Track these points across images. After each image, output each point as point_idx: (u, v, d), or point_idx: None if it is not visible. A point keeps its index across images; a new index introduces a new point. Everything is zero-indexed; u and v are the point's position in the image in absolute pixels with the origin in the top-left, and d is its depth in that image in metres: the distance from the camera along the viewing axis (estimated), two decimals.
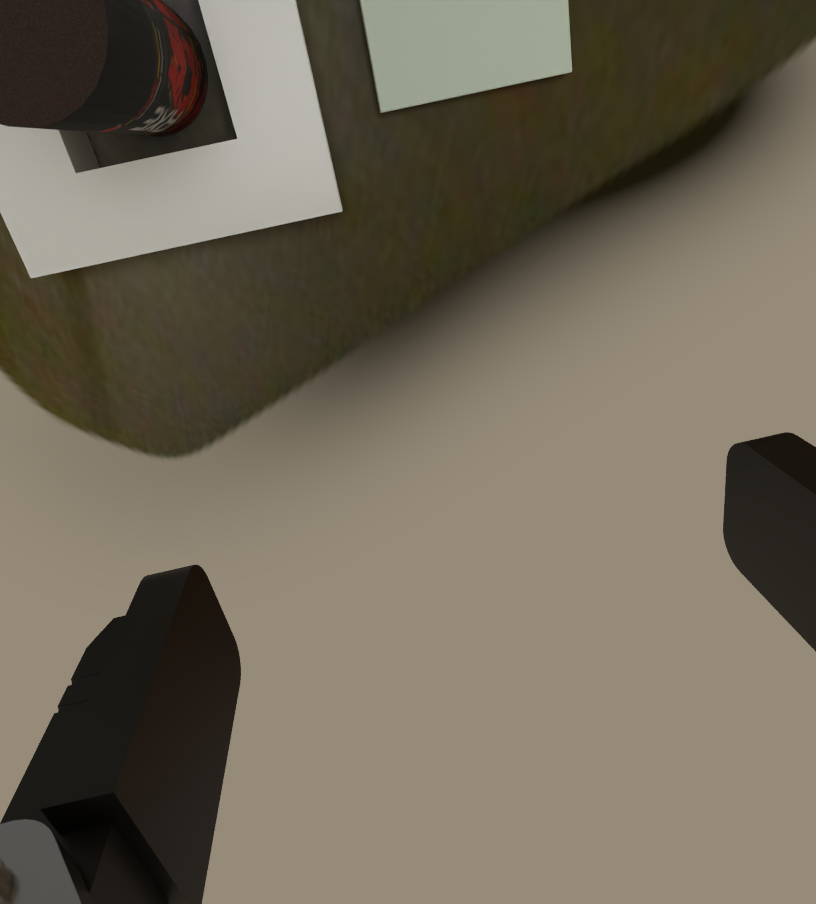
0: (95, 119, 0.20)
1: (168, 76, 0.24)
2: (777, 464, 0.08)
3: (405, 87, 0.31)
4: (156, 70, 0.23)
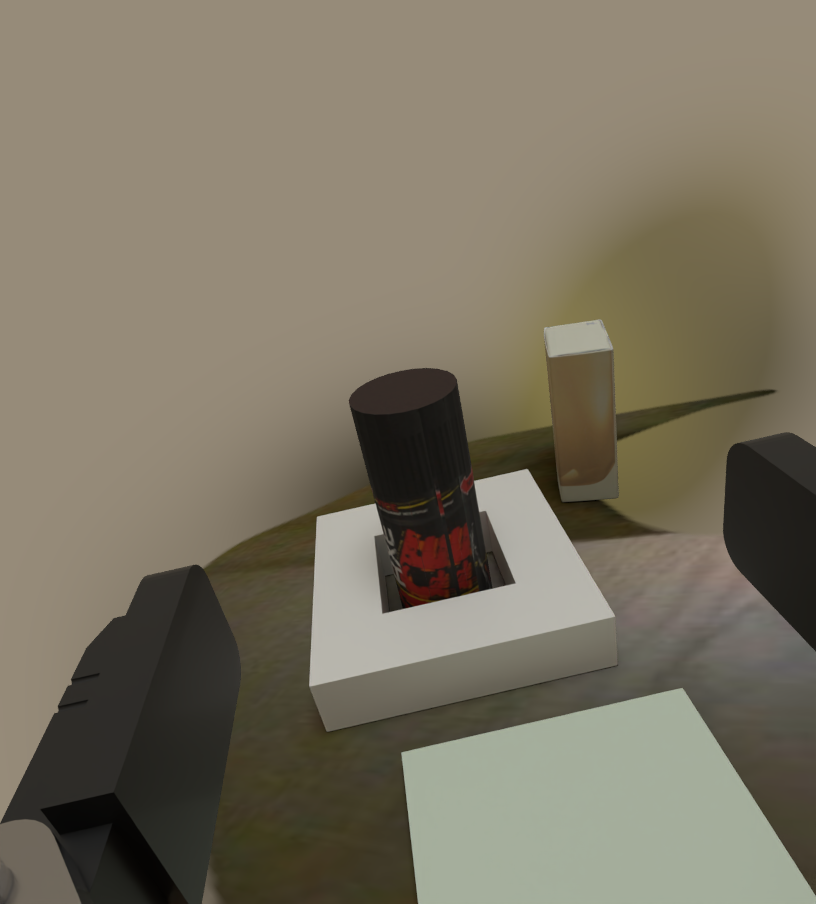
0: (361, 445, 0.33)
1: (406, 530, 0.34)
2: (777, 464, 0.08)
3: (422, 775, 0.28)
4: (400, 503, 0.33)
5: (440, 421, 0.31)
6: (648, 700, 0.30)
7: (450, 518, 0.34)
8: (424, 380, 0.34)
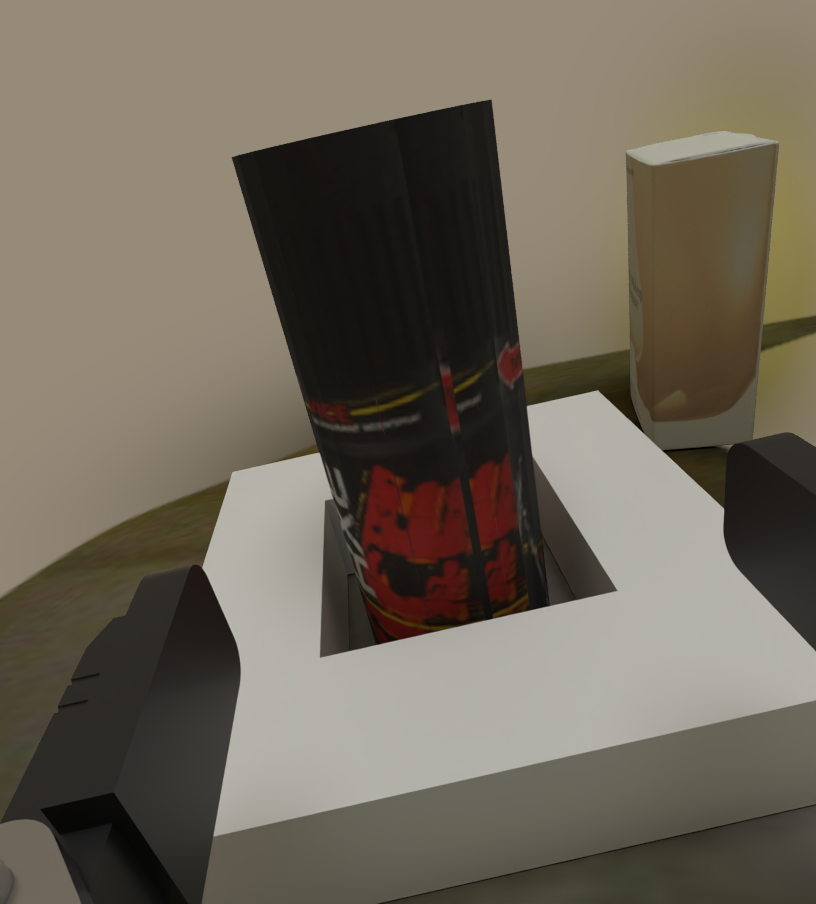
0: (265, 266, 0.14)
1: (372, 467, 0.15)
2: (777, 464, 0.08)
3: None
4: (356, 400, 0.14)
5: (453, 173, 0.12)
6: None
7: (472, 439, 0.15)
8: None
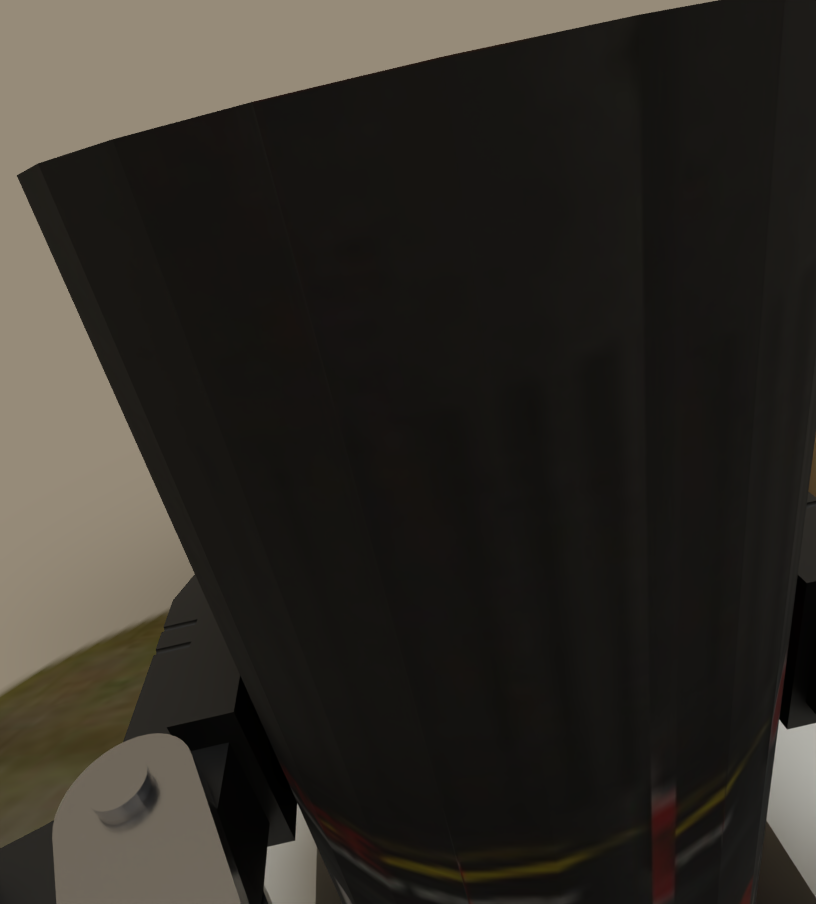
0: None
1: None
2: None
3: None
4: (401, 846, 0.05)
5: (792, 249, 0.03)
6: None
7: (697, 903, 0.06)
8: None
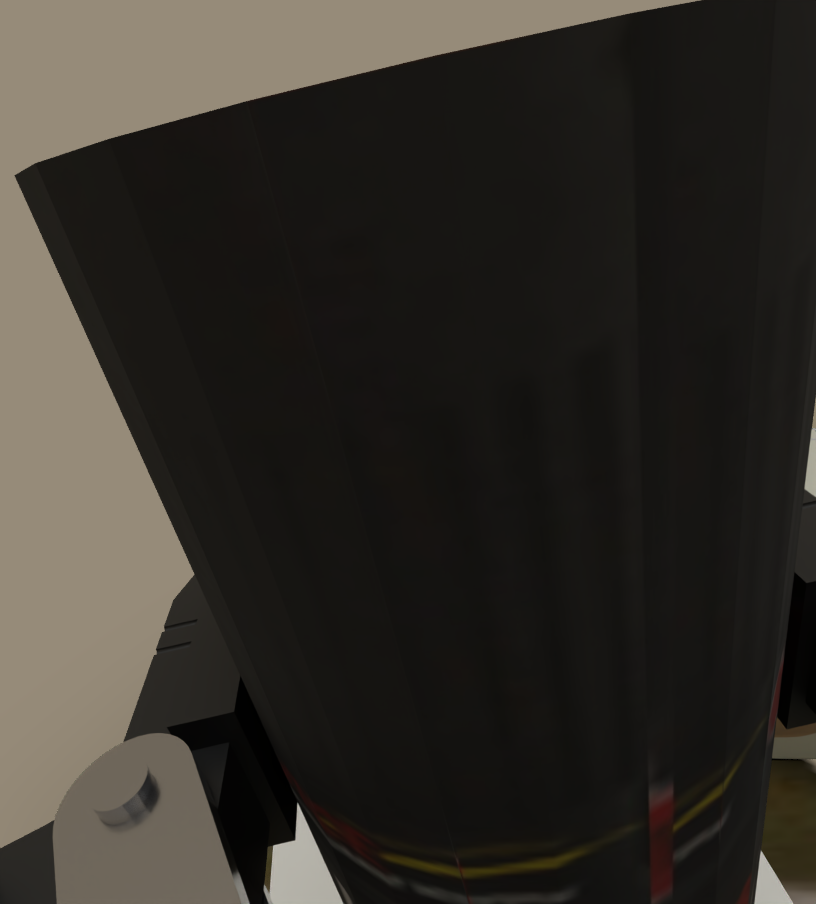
0: None
1: None
2: None
3: None
4: (400, 842, 0.05)
5: (785, 246, 0.03)
6: None
7: (695, 899, 0.06)
8: None
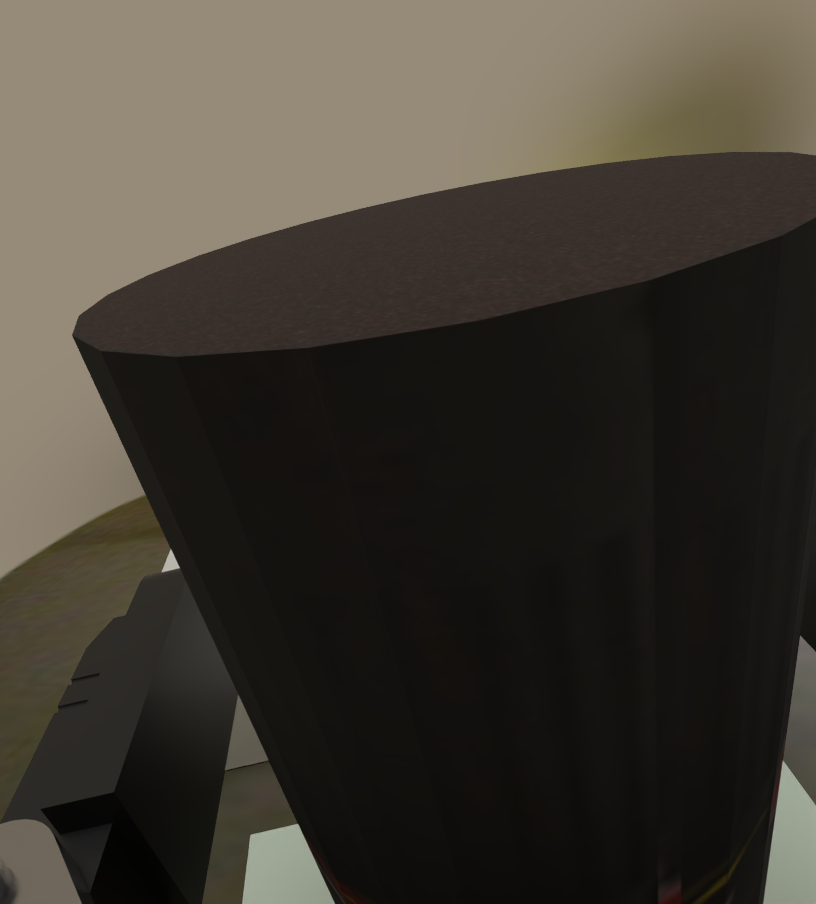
0: None
1: None
2: None
3: (276, 884, 0.15)
4: None
5: (788, 427, 0.04)
6: None
7: None
8: (559, 188, 0.06)
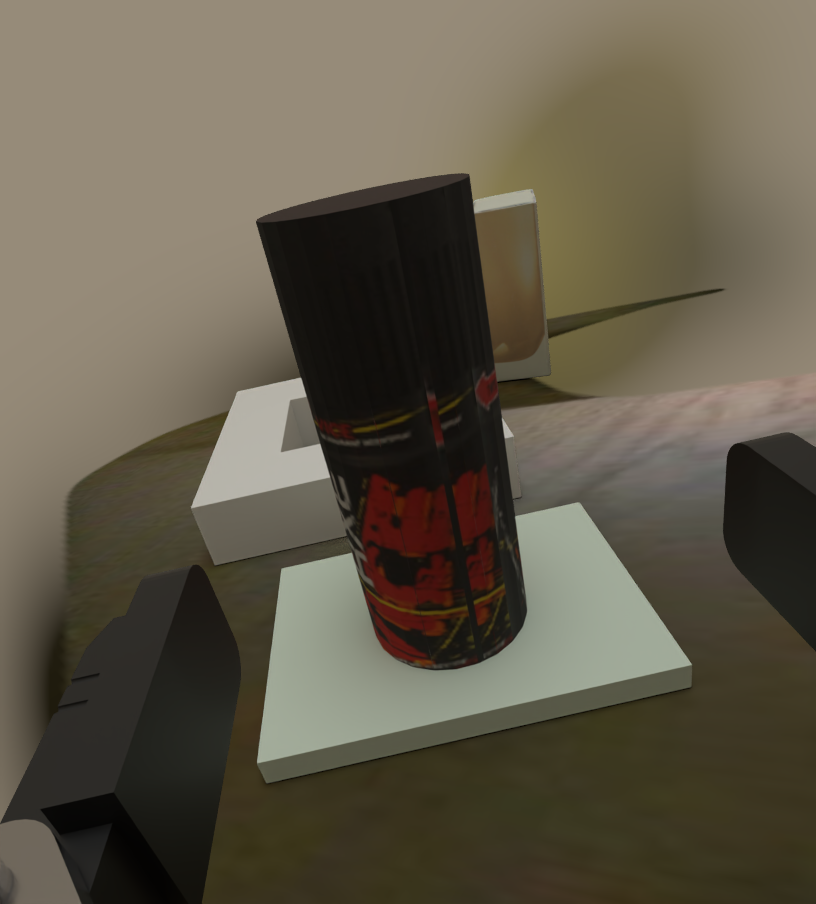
0: (282, 309, 0.17)
1: (371, 476, 0.18)
2: (777, 464, 0.08)
3: (297, 584, 0.27)
4: (358, 421, 0.17)
5: (436, 240, 0.15)
6: (542, 513, 0.28)
7: (454, 453, 0.17)
8: (406, 185, 0.17)
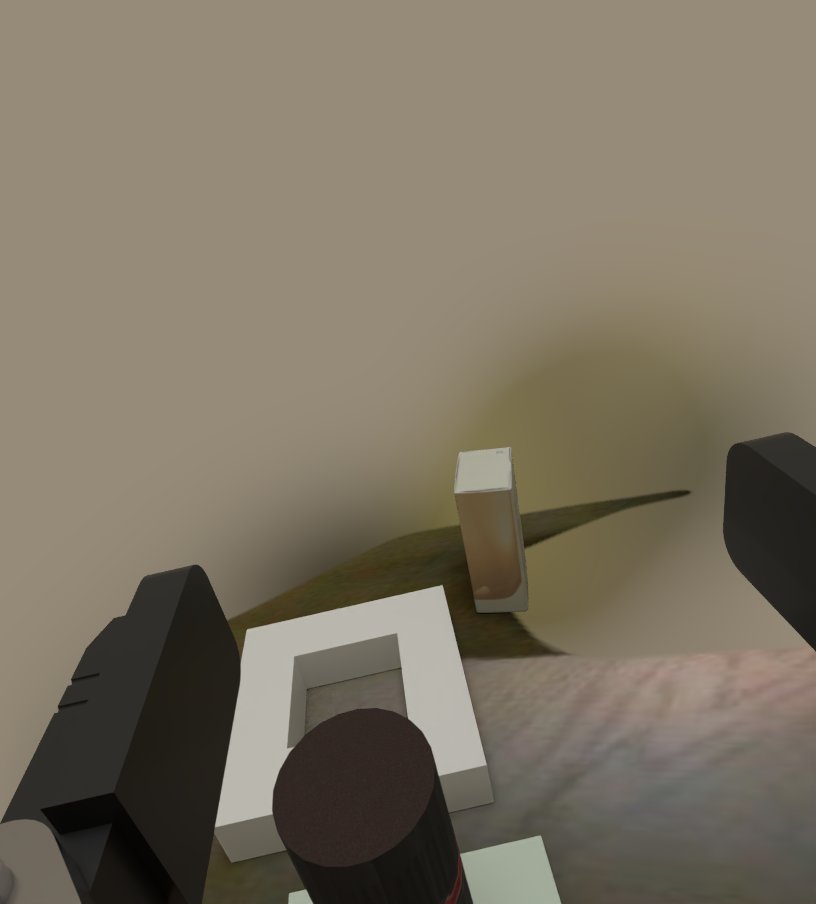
0: None
1: None
2: (777, 464, 0.08)
3: None
4: None
5: (408, 860, 0.20)
6: (509, 847, 0.33)
7: None
8: (387, 754, 0.22)
